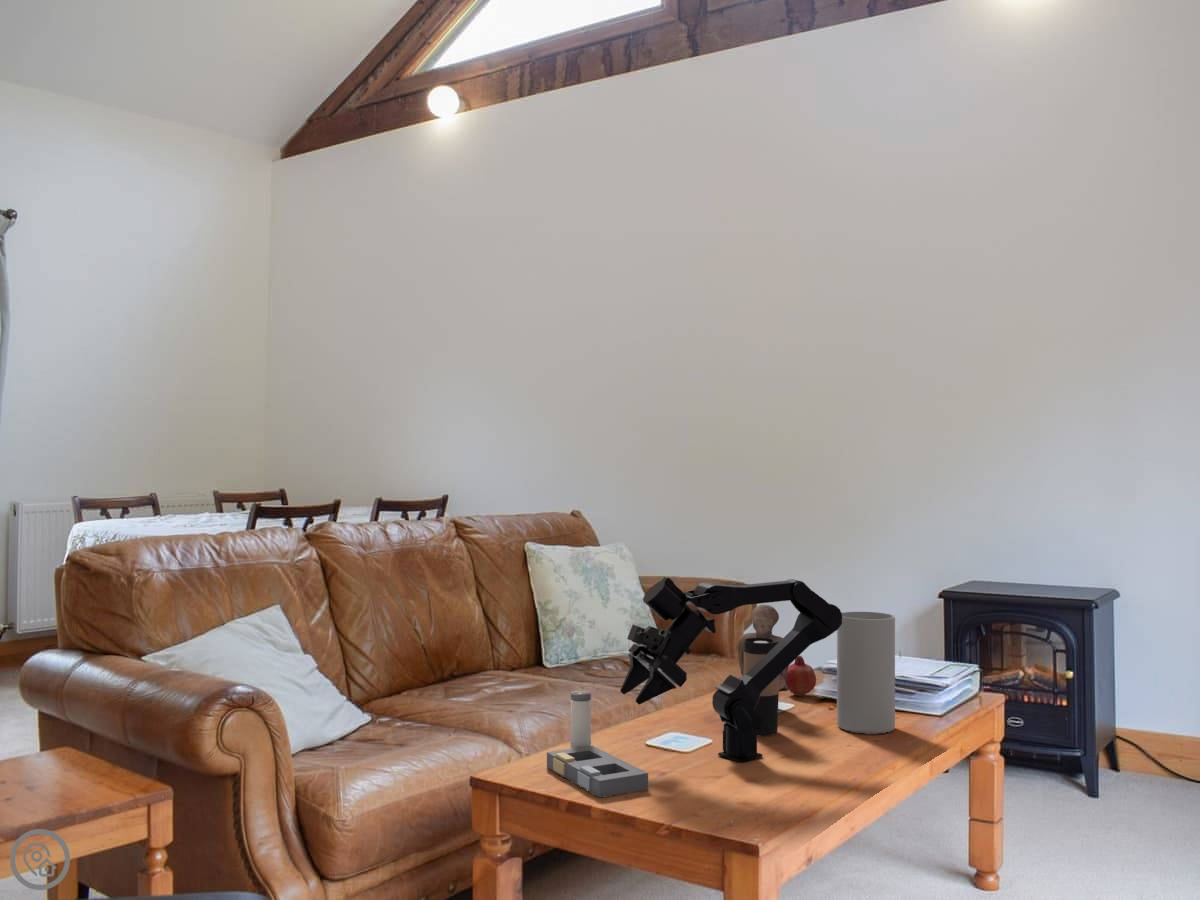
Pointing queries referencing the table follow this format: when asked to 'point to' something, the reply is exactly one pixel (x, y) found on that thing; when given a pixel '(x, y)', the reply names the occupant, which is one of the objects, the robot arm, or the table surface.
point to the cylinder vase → (866, 672)
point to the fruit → (800, 677)
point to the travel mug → (769, 696)
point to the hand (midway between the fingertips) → (629, 697)
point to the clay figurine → (763, 636)
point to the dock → (597, 771)
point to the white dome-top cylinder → (580, 719)
